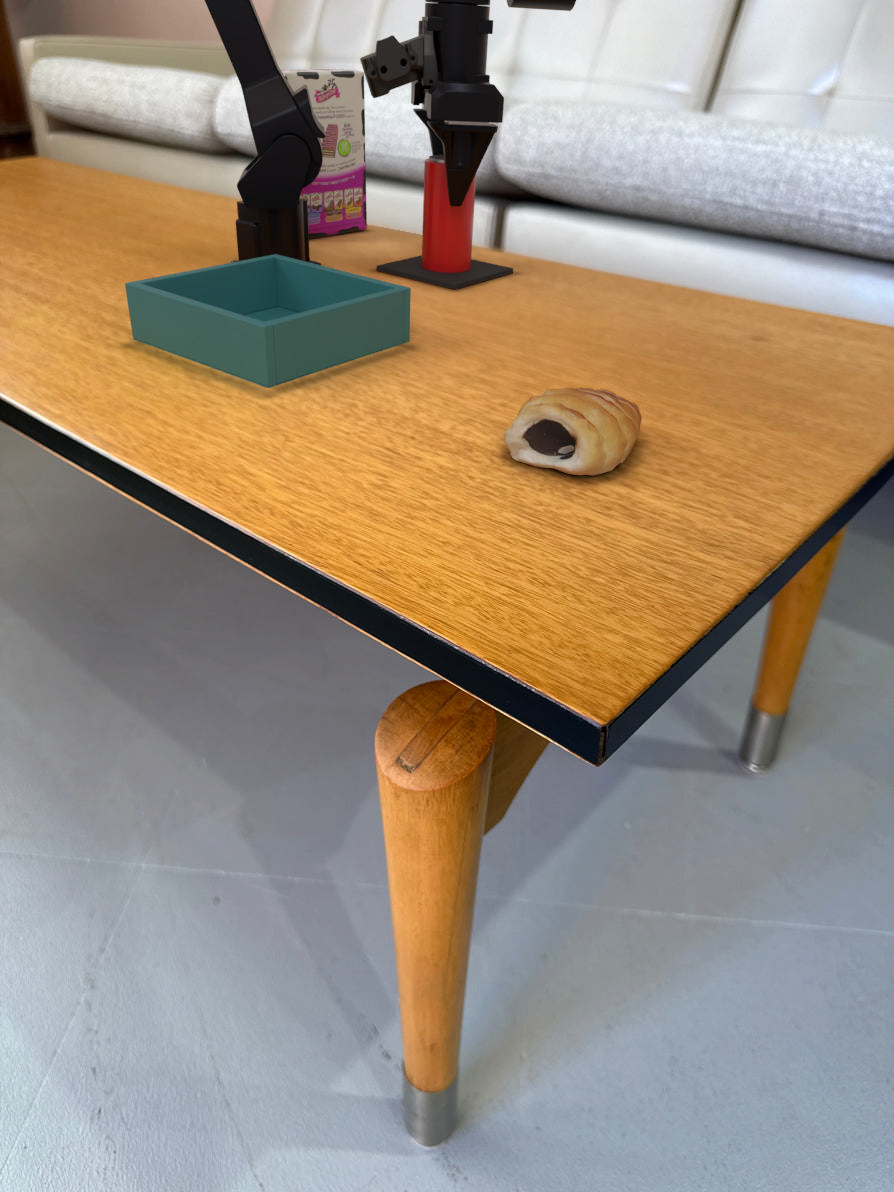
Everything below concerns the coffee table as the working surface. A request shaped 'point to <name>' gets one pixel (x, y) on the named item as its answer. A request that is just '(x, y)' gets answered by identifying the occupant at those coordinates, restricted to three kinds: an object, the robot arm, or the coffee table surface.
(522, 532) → the coffee table surface
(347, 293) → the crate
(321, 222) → the candy bar box
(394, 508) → the coffee table surface
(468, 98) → the robot arm
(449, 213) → the can
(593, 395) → the pastry
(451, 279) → the mat
